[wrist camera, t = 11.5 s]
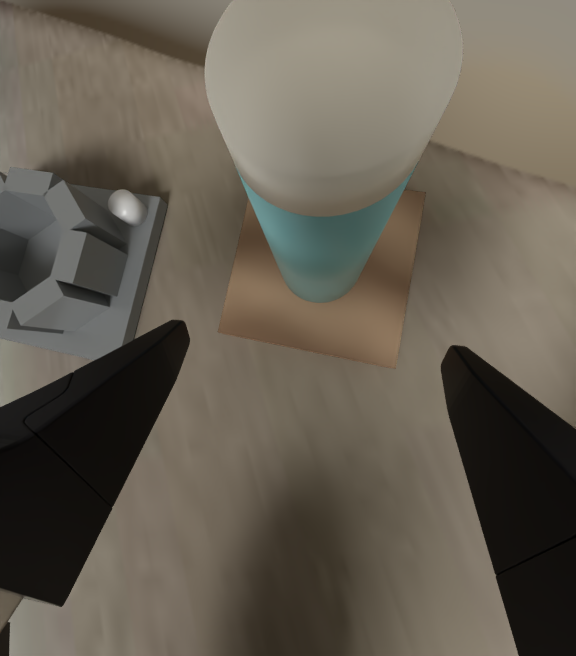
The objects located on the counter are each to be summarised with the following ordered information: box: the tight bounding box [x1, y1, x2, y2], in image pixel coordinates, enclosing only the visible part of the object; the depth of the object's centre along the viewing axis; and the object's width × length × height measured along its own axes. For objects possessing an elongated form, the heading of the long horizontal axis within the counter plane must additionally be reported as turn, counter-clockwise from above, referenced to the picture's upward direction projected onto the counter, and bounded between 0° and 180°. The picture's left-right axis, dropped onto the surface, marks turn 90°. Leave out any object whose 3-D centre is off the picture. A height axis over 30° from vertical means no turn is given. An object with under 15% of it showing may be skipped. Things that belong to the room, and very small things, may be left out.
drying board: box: [218, 190, 426, 369], centre depth 18 cm, size 11×11×2 cm
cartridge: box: [205, 0, 463, 303], centre depth 11 cm, size 5×5×12 cm
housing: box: [0, 167, 168, 360], centre depth 18 cm, size 12×12×4 cm
